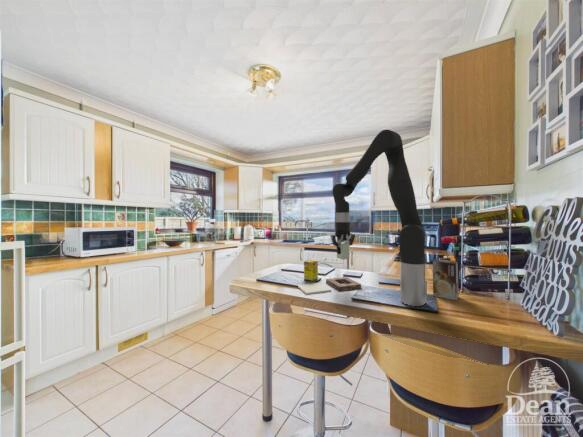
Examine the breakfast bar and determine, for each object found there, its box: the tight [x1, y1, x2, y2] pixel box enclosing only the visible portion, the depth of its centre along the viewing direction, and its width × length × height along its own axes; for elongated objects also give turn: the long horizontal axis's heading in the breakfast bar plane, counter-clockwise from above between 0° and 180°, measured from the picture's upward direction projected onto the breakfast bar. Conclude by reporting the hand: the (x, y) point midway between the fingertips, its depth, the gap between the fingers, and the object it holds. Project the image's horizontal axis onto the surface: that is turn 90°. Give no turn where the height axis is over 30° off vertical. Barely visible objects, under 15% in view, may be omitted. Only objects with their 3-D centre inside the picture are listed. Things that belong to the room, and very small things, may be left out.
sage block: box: [336, 241, 350, 261], centre depth 123 cm, size 4×6×8 cm, turn 18°
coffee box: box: [432, 259, 459, 301], centre depth 105 cm, size 9×6×16 cm
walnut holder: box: [325, 276, 362, 292], centre depth 123 cm, size 12×14×2 cm
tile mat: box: [296, 281, 332, 295], centre depth 118 cm, size 13×13×1 cm
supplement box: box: [303, 259, 319, 282], centre depth 133 cm, size 6×6×11 cm
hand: (343, 253), depth 123 cm, fingers closed on sage block, 4 cm apart
